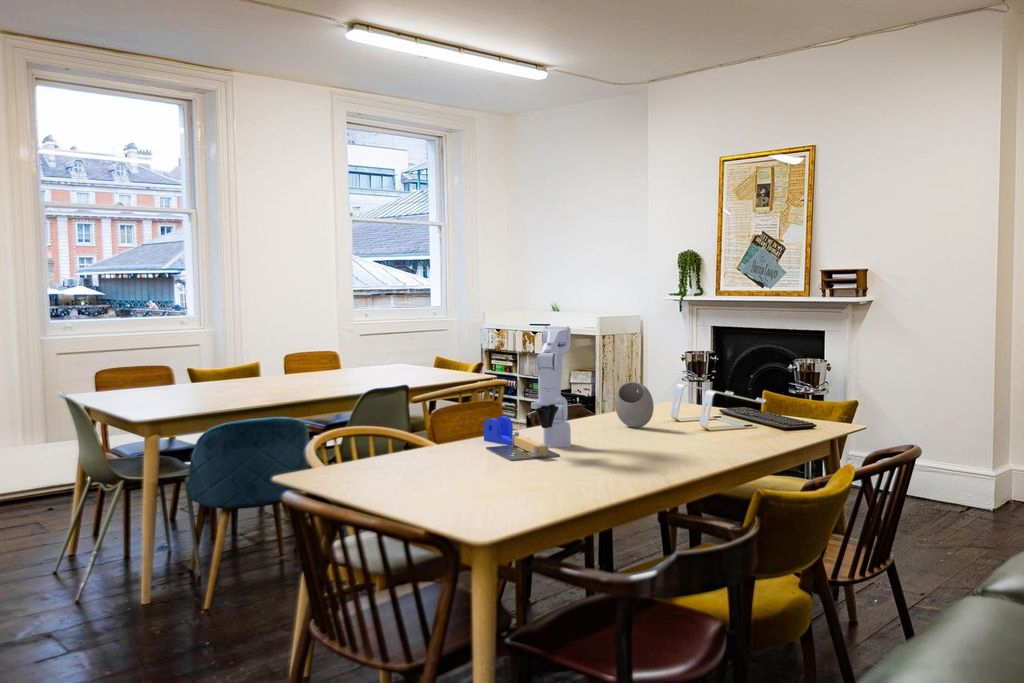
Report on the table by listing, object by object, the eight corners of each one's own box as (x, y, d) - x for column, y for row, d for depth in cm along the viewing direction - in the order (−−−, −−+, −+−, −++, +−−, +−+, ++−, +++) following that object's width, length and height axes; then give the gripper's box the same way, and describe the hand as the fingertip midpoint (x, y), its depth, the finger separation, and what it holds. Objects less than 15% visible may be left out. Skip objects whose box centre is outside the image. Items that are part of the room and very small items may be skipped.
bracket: (483, 441, 307) (483, 417, 307) (499, 438, 313) (499, 415, 313) (519, 448, 295) (519, 423, 294) (534, 444, 301) (535, 420, 301)
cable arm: (512, 445, 291) (512, 436, 291) (523, 444, 293) (523, 435, 293) (536, 455, 273) (536, 446, 273) (548, 454, 275) (548, 445, 275)
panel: (531, 445, 298) (531, 430, 298) (559, 457, 278) (559, 441, 277) (485, 449, 291) (485, 434, 291) (510, 462, 271) (510, 445, 270)
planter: (610, 426, 339) (610, 380, 338) (620, 423, 345) (620, 379, 343) (647, 431, 327) (648, 384, 325) (657, 429, 332) (658, 382, 330)
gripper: (550, 385, 289) (550, 423, 290) (524, 389, 278) (524, 429, 279) (566, 386, 284) (566, 425, 285) (540, 390, 273) (540, 431, 274)
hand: (546, 427), depth 282 cm, fingers closed
